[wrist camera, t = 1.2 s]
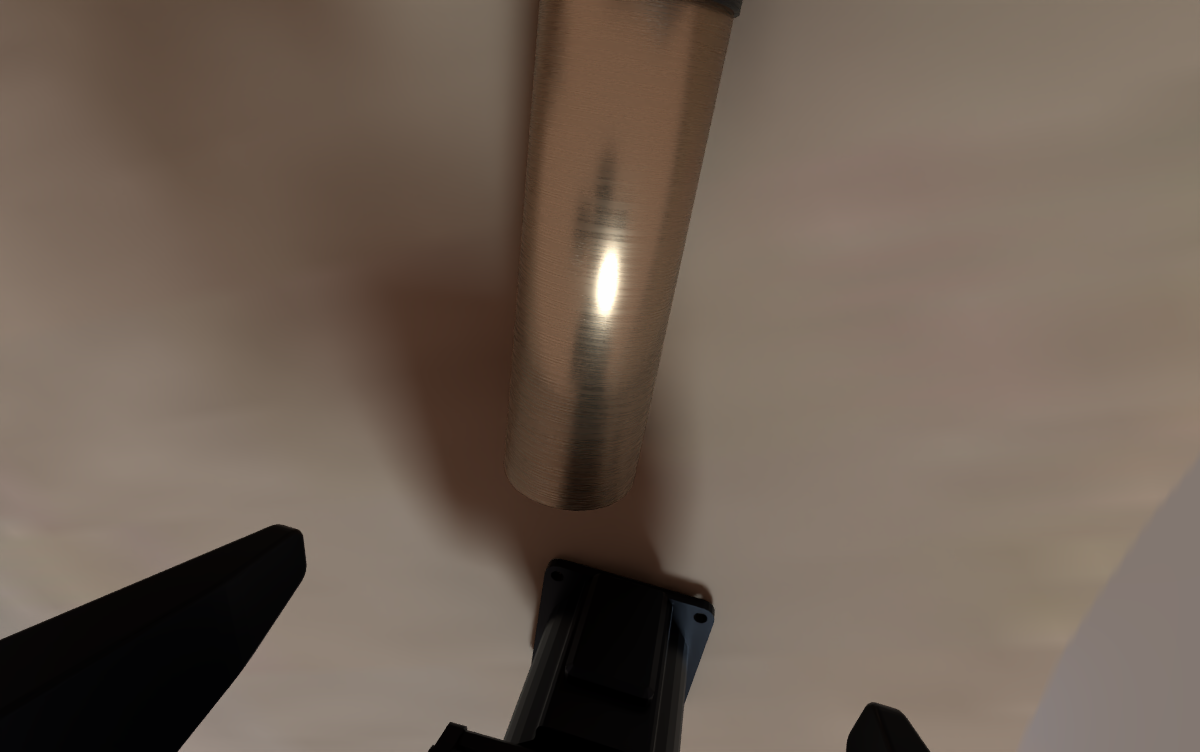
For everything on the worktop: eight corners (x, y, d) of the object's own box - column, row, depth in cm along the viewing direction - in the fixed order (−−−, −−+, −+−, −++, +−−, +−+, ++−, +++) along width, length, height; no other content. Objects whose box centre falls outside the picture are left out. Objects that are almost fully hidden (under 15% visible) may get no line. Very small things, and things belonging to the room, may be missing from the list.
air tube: (664, 493, 16) (533, 528, 14) (597, 419, 20) (481, 439, 18) (855, -268, 9) (642, -418, 7) (698, -193, 12) (519, -281, 10)
